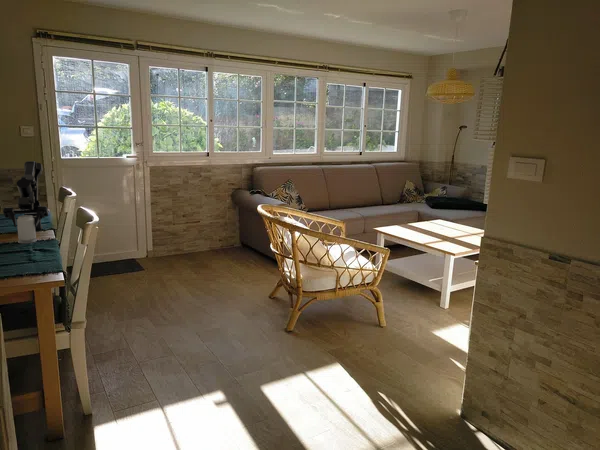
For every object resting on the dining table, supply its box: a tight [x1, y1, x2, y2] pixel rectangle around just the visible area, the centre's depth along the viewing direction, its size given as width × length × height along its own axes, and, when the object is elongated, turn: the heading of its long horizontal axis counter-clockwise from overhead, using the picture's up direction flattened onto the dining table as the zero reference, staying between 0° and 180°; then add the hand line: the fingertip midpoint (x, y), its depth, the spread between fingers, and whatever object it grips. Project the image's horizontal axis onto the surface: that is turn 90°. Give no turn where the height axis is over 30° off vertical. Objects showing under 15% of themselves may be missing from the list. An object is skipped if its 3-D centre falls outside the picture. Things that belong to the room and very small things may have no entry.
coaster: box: [17, 238, 38, 245], centre depth 224 cm, size 8×8×1 cm
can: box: [16, 214, 37, 241], centre depth 223 cm, size 8×8×12 cm
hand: (25, 226), depth 221 cm, fingers open, 8 cm apart
